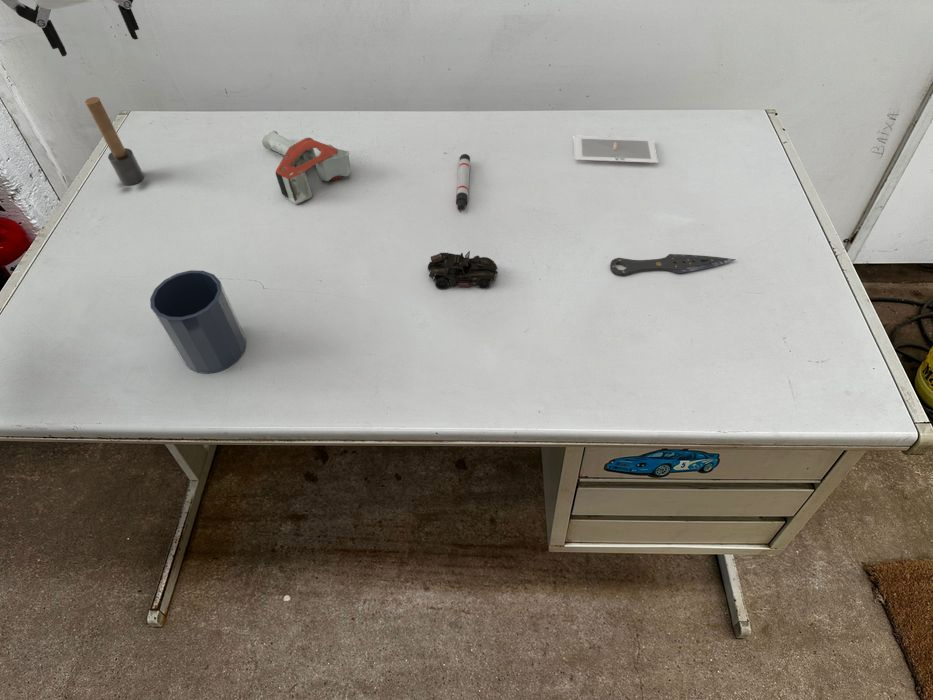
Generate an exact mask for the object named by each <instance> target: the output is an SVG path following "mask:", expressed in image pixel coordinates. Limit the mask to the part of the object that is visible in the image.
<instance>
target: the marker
mask: <svg viewBox="0 0 933 700" xmlns="http://www.w3.org/2000/svg"><path fill="white" fill-rule="evenodd" d="M458 162H459V163H458V172H457V183H456V196H455V204H456V205H457V209H458V210H459V212H460V213H461V212H462V211H464V210H465V209H466V206H467V205H468V200H469V187H470V186H469V185H470V171H471V170H470V169H471V156H470V155H469V154H467V153H463V154H461V155H460V156H459V161H458Z"/></svg>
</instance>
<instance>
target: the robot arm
mask: <svg viewBox="0 0 933 700" xmlns="http://www.w3.org/2000/svg"><path fill="white" fill-rule="evenodd" d="M0 1H2V3H3V4H5V5H6V6H7V7H8V8H10V9H11V10H12V11H14V12H15V13H16V14H17V16H19V17H20V18H23V19H25V20H27V21H29V22H30V23H33V24H35V25H36V26H37V27H39V28H41V30H42V32H43V34H44V36H45V38H46V40H47V41H48V43H49V45H50V47H51V49H52V50H56V49H58V51H59V53H60V55H61V57H62V58H63V57H66V56H67V55H68V53H67V50H66V48H65V44H64V43H63V42H62V40H61V37H60V36H59V34H58V32H57V29H56V28H55V26H54V24H53V22H52V20H51V19H49V18H50V15H51V10H57V9H63V8H68V7H73V6H78V5H82V4H87V3H92V2H97V1H98V0H34V2H35V6H34V8H32V7H30V6H28V5H26V4H24V3H22V2H21V1H20V0H0ZM112 1H113V2H115V3H116V4H118V5H117V7H118V10H119V12H120V15H121V17H122V19H123V22H124V24H125V26H126V29H127V32H128V33H129V34H130V37H131V38H132V40H134V41H136V40H139V38H138V37H139V36H138V35H137V33H136V31H139V30H140V27H139V25H138V22H137V20H136V18H135V15H134V12H133V9H132V7H133V2H134V0H112Z"/></svg>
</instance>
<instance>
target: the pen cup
mask: <svg viewBox="0 0 933 700" xmlns="http://www.w3.org/2000/svg"><path fill="white" fill-rule="evenodd" d="M149 301H150V302H149V303H150V310H151V311H152V313H153V314H154V316H155V318H156V319H157V321H158V322H159V324H160V325H161V327H162V329H163V331H164V332H165V334H166V336H167V337H168V339H169V341H170V342H171V345H173V347H174V349H175V350H176V352H177V354H178V356H179V357H180V359H181V361H182V362H183V363H184V364H185V366H186V367H187V368H189V369H190V370H191V371H193V372H195V373H198V374H214V373H218V372H222V371H224V370H226V369H229V368H230V367H232V366H233V365H235V364H236V363H238V361H239V360H240V359H241V357H243V355H244V353H245V352H246V351H245V350H246V347H247V339H246V335H245V333H244V331H243V329H242V326H241V324H240V321H239V320H238V317H237V315H236V313H235V311H234V308H233V306H232V303H231V302H230V300H229V298H228V295H227V293H226V291H225V288H224V286H223V284H222V282H221V280H220V279H219V278H218V277H217V276H216V274H213V273H211V272H208V271H206V270H196V269H195V270H194V269H191V270H186V271H182V272H177V273H175V274H173V275H171V276H169V277H168V278H167V277H166V279H163V280H162V282H161V283H159V284H158V285H157V286H156V287H155V288H154V290H153V292H152V293H151V295H150V297H149Z"/></svg>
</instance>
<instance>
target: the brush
mask: <svg viewBox="0 0 933 700" xmlns="http://www.w3.org/2000/svg"><path fill="white" fill-rule="evenodd" d="M84 104H85V105H86V107H87V109H88V111H89V112H90V114H91V117H92V118H93V120H94V123H95V124H96V126H97V129H98V130H99V132H100V133H101V135H102V137H103V139H104V141H105V144H106V145H107V147H108V149H109V151H110V152H109V154H108V156H107V159H108V161H109V163H110V164H111V166H112V168H113V170H114V172H115V174H116V176H117V177H118V179H119V181H120V183H121V184H122V185H124V186H135V185H137V184H139V183H141V182H142V181H143V180H144V178H145V175H144V172H143V171H142V169H141V166H140V164H139V162H138V161H137V158H136V157H135V154H134V152H133V150H131V148H126V147H125V146H124V145H123V142H122V140H121V138H120V137H119V135H118V132H117V131H116V129H115V127H114V125H113V123H112V121H111V119H110V118H109V115H108V112H107V111H106V108H105V107H104V104H103V103H102V101H101V99H100V97H97V96H92V97H89V98H86V99H85V101H84Z"/></svg>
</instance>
